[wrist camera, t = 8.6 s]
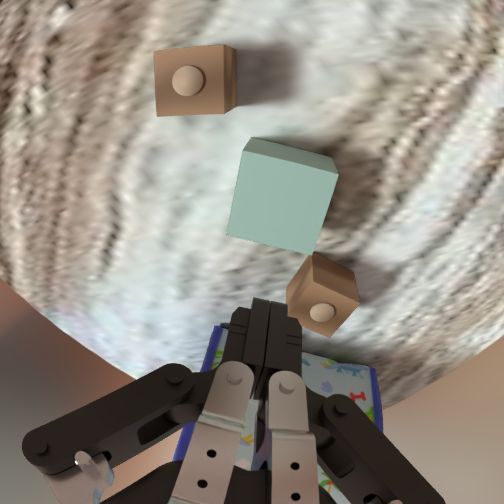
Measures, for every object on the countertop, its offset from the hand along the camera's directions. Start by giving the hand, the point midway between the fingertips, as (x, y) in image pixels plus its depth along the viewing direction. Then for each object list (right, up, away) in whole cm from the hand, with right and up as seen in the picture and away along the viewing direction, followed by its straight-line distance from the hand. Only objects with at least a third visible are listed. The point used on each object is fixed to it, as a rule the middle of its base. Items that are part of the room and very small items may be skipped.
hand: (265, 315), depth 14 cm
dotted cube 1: (+6, 0, +19) cm, 20 cm away
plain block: (+2, +9, +14) cm, 17 cm away
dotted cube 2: (-4, +17, +10) cm, 20 cm away
